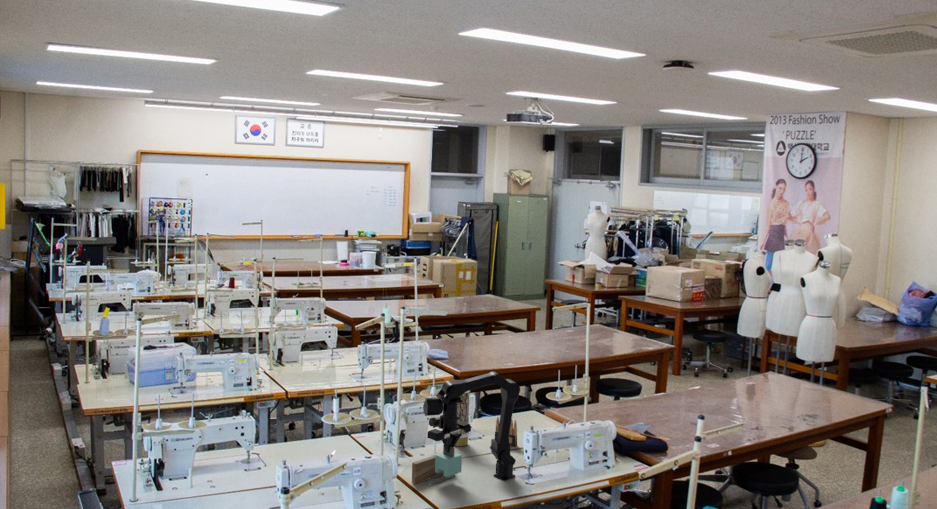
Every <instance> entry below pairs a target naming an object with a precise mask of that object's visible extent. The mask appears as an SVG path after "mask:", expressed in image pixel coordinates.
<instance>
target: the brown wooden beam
mask: <svg viewBox="0 0 937 509" xmlns="http://www.w3.org/2000/svg"><path fill="white" fill-rule="evenodd" d="M435 455H436V454H435ZM435 455H431V456H429V457H425V458H423V459H420V460H416V461H413V462H412V464H411V483H413V484H418V482H419V483H421V482H424V481H426V485H427V486H431V485H433V484H436V483H439V482H442V481H444V480H447V479H450V478H453V477H455V475H456V474H454V475H451V476H449V477H445V476H444V471H443V472H440V473H436V472H435ZM429 478H430V479H429ZM430 484H431V485H430Z"/></svg>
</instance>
